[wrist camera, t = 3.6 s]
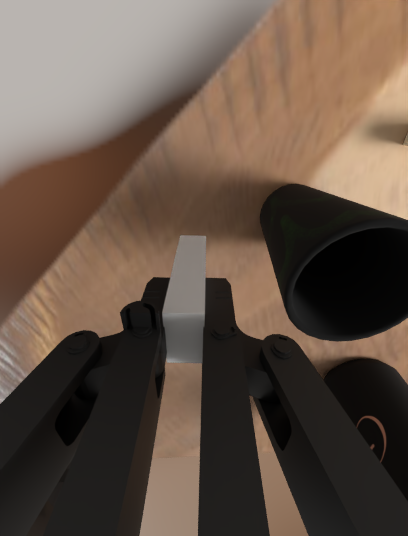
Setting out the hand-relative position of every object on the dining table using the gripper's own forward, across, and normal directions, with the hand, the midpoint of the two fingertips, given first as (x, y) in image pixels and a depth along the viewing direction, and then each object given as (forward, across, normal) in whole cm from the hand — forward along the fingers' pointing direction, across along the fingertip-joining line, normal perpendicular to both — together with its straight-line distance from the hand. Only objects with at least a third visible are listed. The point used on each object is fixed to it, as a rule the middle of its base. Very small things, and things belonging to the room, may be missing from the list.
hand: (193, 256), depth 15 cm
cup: (+9, +9, 0) cm, 13 cm away
